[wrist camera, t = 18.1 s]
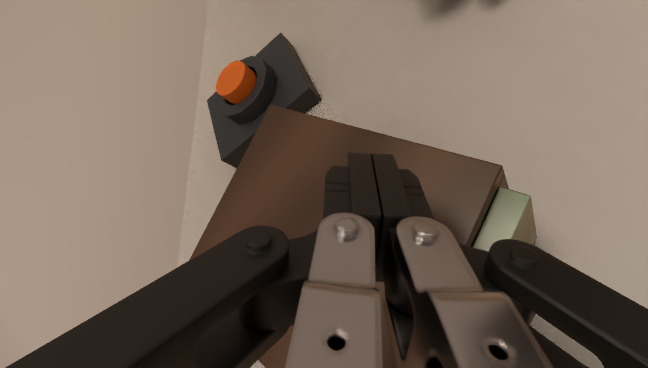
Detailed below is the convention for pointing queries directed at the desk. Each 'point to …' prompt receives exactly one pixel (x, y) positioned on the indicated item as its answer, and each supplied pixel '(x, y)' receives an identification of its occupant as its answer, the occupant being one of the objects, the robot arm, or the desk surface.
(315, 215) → the cabinet
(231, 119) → the panel
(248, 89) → the button
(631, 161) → the desk surface
